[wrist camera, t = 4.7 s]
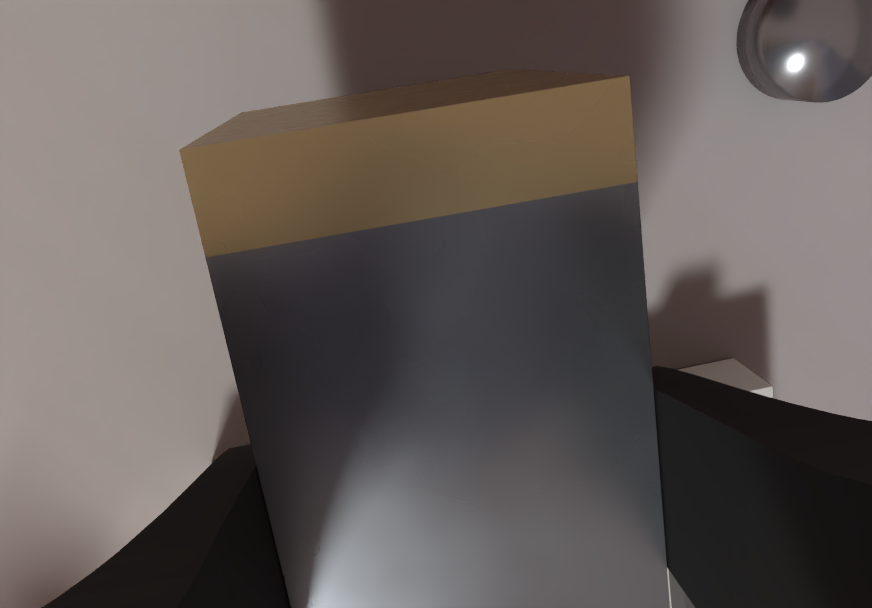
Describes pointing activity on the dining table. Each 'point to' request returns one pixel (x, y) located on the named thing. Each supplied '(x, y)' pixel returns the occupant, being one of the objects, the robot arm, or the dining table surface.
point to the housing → (443, 340)
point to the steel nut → (806, 47)
